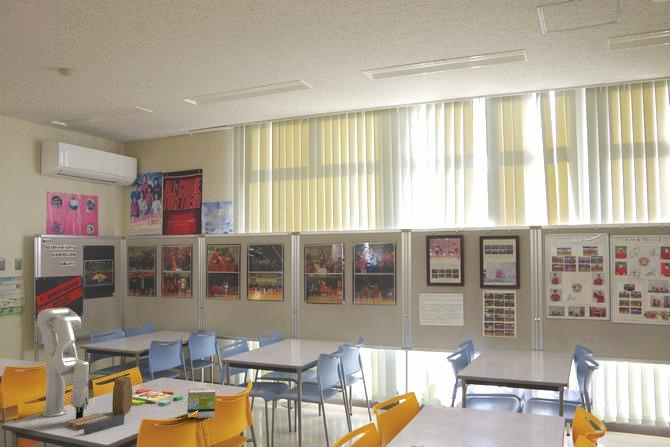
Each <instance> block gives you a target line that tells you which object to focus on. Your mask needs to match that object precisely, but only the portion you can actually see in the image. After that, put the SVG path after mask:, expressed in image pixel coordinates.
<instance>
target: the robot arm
mask: <svg viewBox="0 0 670 447" xmlns="http://www.w3.org/2000/svg"><path fill="white" fill-rule="evenodd" d="M36 319H37V320H36V321H37V322H36V323H37V327H38V329H39V331H40V333H41V336H42V341H43V345H44V346H43V347H44V350H45V351H44V352H45V354H46V355H47V356H48V357H53V358H50V359H48V360H46V363H45V373H46V389H45V393H46V394H45V405H44V406H43V409H44V411H43V412H42V413H41V415H42V416H43V417H47V418H49V417H59V416H63V415H65V414H67V413H68V410H67V409H65V395H66V394H65V393H66V380H65V378H64V376H67V375H73V380H72V384H73V385H72V388H71V394H70V406H72V407H73V408H74V410H75V419H77V418H81V417H84V411H85V410H86V409H87V406H88V405H89V401H90V399H89V396H90V394H89V374H90V373H89V372H90V371H89V370H90V362H88V361H87V360H86V361H84V360H82V359H79V358H78V354H77V348H76V344H75V343H76V337H75V334H74V330H75V331H76V330H79V329H81V327H82V320H81V317H80V316H79V315H78V314H77V313H76V312H75V311H73V310H72V309H71V308H69V307H54V308H45V309H43V310H40V312H39V313H38V314H37V318H36Z"/></svg>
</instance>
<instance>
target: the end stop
mask: <svg viewBox="0 0 670 447" xmlns="http://www.w3.org/2000/svg"><path fill="white" fill-rule="evenodd" d="M125 414H126V413H125ZM125 414H115V415H111V416H108V417H107V418H103V419H100V420H96V421H92V422H88V423H85V424H84V429H83V434H84V435H90V434H94V433H97V432H100V431H103V430H108V429H111V428H115V427H118V426H121V425H124V424H125ZM93 432H94V433H93Z"/></svg>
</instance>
